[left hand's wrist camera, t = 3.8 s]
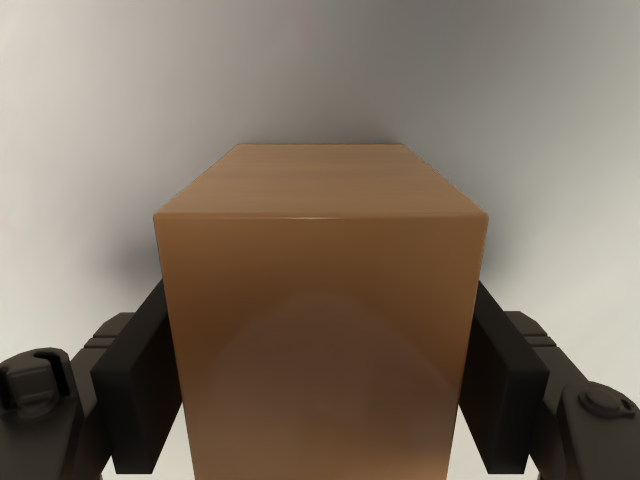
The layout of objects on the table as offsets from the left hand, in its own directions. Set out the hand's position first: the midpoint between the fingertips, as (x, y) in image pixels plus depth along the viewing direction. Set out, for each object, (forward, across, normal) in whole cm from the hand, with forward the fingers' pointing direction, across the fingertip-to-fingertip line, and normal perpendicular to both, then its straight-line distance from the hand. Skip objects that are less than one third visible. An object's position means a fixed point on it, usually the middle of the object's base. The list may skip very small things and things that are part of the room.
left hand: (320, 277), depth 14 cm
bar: (+1, 0, -25) cm, 25 cm away
